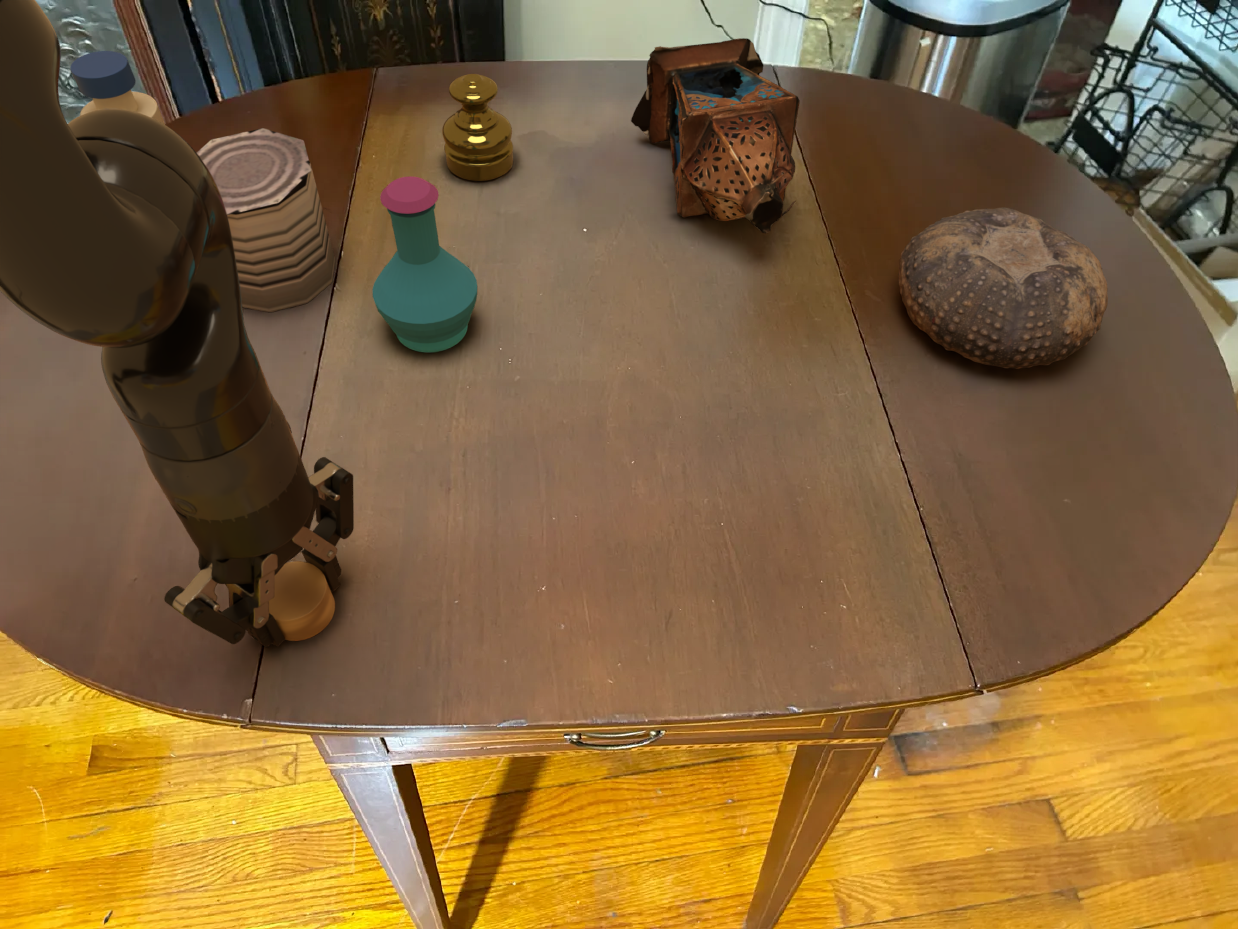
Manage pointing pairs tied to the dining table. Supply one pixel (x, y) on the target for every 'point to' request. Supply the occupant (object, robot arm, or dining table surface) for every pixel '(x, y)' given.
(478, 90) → the brass weight
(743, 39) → the lantern
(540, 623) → the dining table surface
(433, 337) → the perfume bottle
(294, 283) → the can
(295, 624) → the tan short cylinder
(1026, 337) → the sea urchin shell
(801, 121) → the dining table surface
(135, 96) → the cream bottle
